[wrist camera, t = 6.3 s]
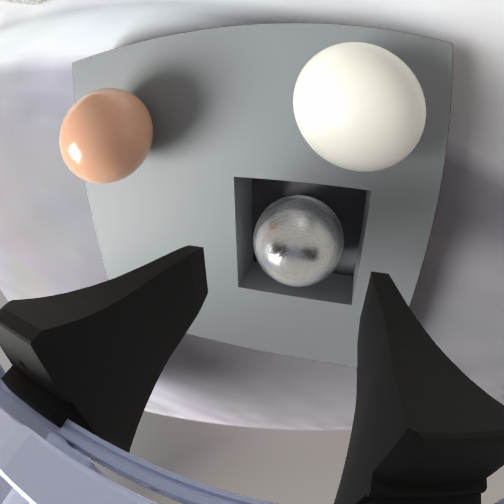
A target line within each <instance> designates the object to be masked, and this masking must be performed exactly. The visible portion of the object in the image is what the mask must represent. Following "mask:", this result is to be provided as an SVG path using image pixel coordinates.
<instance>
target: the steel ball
mask: <svg viewBox="0 0 504 504" xmlns="http://www.w3.org/2000/svg"><path fill="white" fill-rule="evenodd" d="M253 247H254V252H255V256H256V258H257V261H258V262H259V264H260V266H261V267H262V269H263V270H264V271H265V272H266V273H267V274H268V275H269V276H270V277H271V278H273V279H274V280H276V281H278V282H280V283H282V284H285V285H288V286H294V287H303V286H309V285H313V284H316V283H318V282H320V281H322V280H323V279H325V278H326V277H327V276H329V275H330V274H331V273H332V272H333V270H334V269H335V268H336V266H337V265H338V263H339V261H340V259H341V256H342V253H343V249H344V233H343V229H342V225H341V223H340V221H339V219H338V217H337V216H336V214H335V213H334V212H333V210H332V209H331V208H330V207H329V206H328V205H326V204H325V203H323V202H322V201H320V200H318V199H316V198H313V197H309V196H304V195H293V196H287V197H284V198H281V199H279V200H277V201H275V202H274V203H272V204H271V205H270V206H268V207H267V208H266V209H265V210H264V212H263V213H262V214H261V216H260V217H259V219H258V221H257V223H256V226H255V229H254V235H253Z"/></svg>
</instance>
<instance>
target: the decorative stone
mask: <svg viewBox="0 0 504 504" xmlns="http://www.w3.org/2000/svg"><path fill="white" fill-rule="evenodd" d="M0 1H5V2H12V3H19V4H34V5H38V4H40V3H42V2H44V1H45V0H0Z"/></svg>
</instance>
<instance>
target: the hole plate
mask: <svg viewBox="0 0 504 504" xmlns="http://www.w3.org/2000/svg"><path fill="white" fill-rule="evenodd" d="M345 42H363V43H369V44H373V45H376V46H379V47H381V48H384V49H386V50H388V51H390V52H391V53H393V54H394V55H396V56H397V57H398V58H400V59H401V60H402V61H403V62H404V63H405V64H406V65H407V66H408V67H409V68H410V69H411V71H412V72H413V73H414V75H415V76H416V78H417V80H418V82H419V83H420V86H421V88H422V91H423V94H424V98H425V104H426V120H425V126H424V130H423V133H422V135H421V138H420V140H419V142H418V143H417V145H416V146H415V148H414V149H413V150H412V151H411V153H410V154H409V155H408V156H406V157H405V158H404V159H403V160H401V161H400V162H398V163H397V164H395V165H393V166H391V167H389V168H385V169H382V170H378V171H371V172H359V171H352V170H347V169H344V168H341V167H338V166H336V165H334V164H332V163H330V162H329V161H327V160H325V159H324V158H322V157H321V156H320V155H319V154H317V153H316V152H315V151H314V150H313V149H312V148H311V147H310V145H309V144H308V143H307V142H306V140H305V139H304V137H303V135H302V134H301V132H300V130H299V127H298V125H297V122H296V119H295V115H294V110H293V94H294V88H295V84H296V81H297V79H298V76H299V74H300V72H301V71H302V69H303V68H304V66H305V65H306V64H307V62H308V61H309V60H310V59H311V58H312V57H313V56H315V55H316V54H317V53H319V52H320V51H322V50H324V49H326V48H328V47H330V46H333V45H336V44H340V43H345ZM72 68H73V87H74V101H75V103H76V102H77V101H78V100H79V99H80V98H82V97H83V96H85V95H86V94H88V93H90V92H92V91H95V90H99V89H104V88H117V89H122V90H125V91H128V92H130V93H132V94H134V95H135V96H136V97H138V98H139V99H140V100H141V101H142V102H143V103H144V104H145V106H146V107H147V109H148V111H149V113H150V116H151V118H152V122H153V141H152V145H151V148H150V151H149V153H148V155H147V157H146V159H145V160H144V162H143V163H142V164H141V166H140V167H139V168H138V169H137V170H136V171H135V172H133V173H132V174H131V175H129V176H128V177H126V178H124V179H122V180H120V181H117V182H113V183H109V184H96V183H91V182H88V181H85V183H86V188H87V194H88V199H89V204H90V208H91V213H92V218H93V222H94V226H95V231H96V235H97V239H98V243H99V247H100V251H101V254H102V258H103V262H104V265H105V269H106V273H107V276H108V279H109V280H111V279H113V278H116V277H118V276H121V275H123V274H125V273H128V272H130V271H132V270H134V269H137V268H139V267H141V266H143V265H146V264H148V263H150V262H152V261H154V260H156V259H158V258H160V257H162V256H164V255H167V254H169V253H171V252H173V251H175V250H177V249H180V248H182V247H185V246H188V245H191V246H198V247H203V248H204V258H205V267H206V276H207V285H208V294H207V297H206V299H205V301H204V303H203V305H202V307H201V309H200V311H199V314H198V315H197V317H196V318H195V320H194V321H193V323H192V324H191V326H190V327H189V329H188V331H187V332H186V333H187V334H191V335H194V336H198V337H202V338H206V339H210V340H215V341H219V342H223V343H227V344H232V345H236V346H241V347H245V348H250V349H255V350H259V351H264V352H269V353H274V354H279V355H285V356H290V357H296V358H301V359H307V360H313V361H319V362H325V363H332V364H338V365H345V366H352V367H357V342H358V333H359V323H360V316H361V312H362V309H363V305H364V300H365V296H366V292H367V288H368V283H369V279H370V274H371V271H372V272H379V273H387V274H389V275H390V277H391V278H392V280H393V282H394V283H395V285H396V287H397V288H398V290H399V292H400V293H401V295H402V297H403V298H404V300H405V302H406V303H407V305H408V306H409V305H410V302H411V299H412V296H413V293H414V290H415V287H416V284H417V280H418V277H419V274H420V270H421V267H422V263H423V260H424V256H425V253H426V249H427V245H428V241H429V237H430V233H431V229H432V225H433V220H434V216H435V211H436V206H437V202H438V196H439V191H440V186H441V180H442V174H443V168H444V161H445V154H446V147H447V139H448V130H449V120H450V108H451V92H452V43H449V42H445V41H441V40H437V39H433V38H429V37H424V36H419V35H414V34H409V33H404V32H398V31H392V30H385V29H378V28H370V27H361V26H351V25H338V24H320V23H270V24H251V25H239V26H228V27H219V28H211V29H204V30H197V31H191V32H185V33H179V34H174V35H169V36H164V37H159V38H154V39H150V40H146V41H142V42H138V43H134V44H130V45H126V46H122V47H119V48H115V49H112V50H109V51H105V52H102V53H99V54H96V55H93V56H90V57H87V58H84V59H81V60H79V61H76V62H73V63H72ZM252 178H259V179H271V180H283V181H293V182H303V183H313V184H322V185H331V186H339V187H347V188H355V189H362V190H366V198H365V206H364V213H363V220H362V227H361V234H360V240H359V246H358V252H357V258H356V264H355V269H354V275H353V276H351V275H344V274H337V273H331V274H330V275H329V276H327V277H326V278H325V279H323V280H322V281H320V282H318V283H316V284H313V285H309V286H303V287H294V286H288V285H285V284H282V283H280V282H278V281H276V280H274V279H273V278H271V277H270V276H269V275H268V274H267V273H266V272H265V271H264V270H263V269H262V267H261V266H260V264H259V262H255V261H253V212H252Z"/></svg>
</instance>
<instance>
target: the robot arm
mask: <svg viewBox="0 0 504 504" xmlns="http://www.w3.org/2000/svg"><path fill="white" fill-rule="evenodd" d="M207 294H208V285H207V276H206V267H205V258H204V248H203V247H198V246H191V245H188V246H185V247H182V248H180V249H177V250H175V251H173V252H171V253H169V254H167V255H164V256H162V257H160V258H158V259H156V260H154V261H152V262H150V263H148V264H146V265H143V266H141V267H139V268H137V269H134V270H132V271H130V272H128V273H125V274H123V275H121V276H118V277H116V278H113V279H111V280H108V281H105V282H102V283H100V284H97V285H94V286H91V287H87V288H83V289H79V290H76V291H72V292H68V293H64V294H59V295H54V296H48V297H42V298H34V299H23V300H12V301H10V302H8V303H7V304H6V305H4V306H3V307H2V308H1V309H0V346H1V348H2V350H3V351H4V353H5V354H6V356H7V357H8V359H9V360H10V362H11V363H12V365H13V366H12V367H11V368H10V369H9V370H8V371H7V372H6V373H5V371H4V369H3V368H2V366H1V365H0V504H157V503H156V502H153V501H151V500H149V499H147V498H145V497H142V496H141V495H139V494H137V493H135V492H133V491H131V490H129V489H127V488H125V487H123V486H121V485H119V484H117V483H116V482H114V481H112V480H110V479H109V478H107V477H106V476H105V475H104V474H103V473H102V472H101V471H99V470H98V469H97V468H96V467H95V466H94V465H93V463H92V462H91V459H92V460H94V461H95V462H97V463H99V464H100V465H102V466H104V467H106V468H107V469H109V470H111V471H113V472H115V473H117V474H118V475H120V476H122V477H124V478H126V479H128V480H130V481H132V482H134V483H136V484H138V485H140V486H143V487H145V488H147V489H149V490H151V491H153V492H155V493H158V494H160V495H162V496H165V497H167V498H169V499H172V500H174V501H177V502H179V503H182V504H277V503H272V502H268V501H263V500H259V499H255V498H251V497H247V496H243V495H240V494H236V493H232V492H229V491H225V490H222V489H219V488H216V487H213V486H209V485H206V484H203V483H200V482H198V481H195V480H191V479H189V478H186V477H184V476H181V475H178V474H176V473H173V472H171V471H168V470H166V469H163V468H161V467H159V466H156V465H154V464H152V463H150V462H147V461H145V460H143V459H141V458H139V457H136V456H134V455H132V454H130V453H129V451H130V447H131V444H132V441H133V438H134V435H135V432H136V429H137V426H138V424H139V421H140V419H141V416H142V414H143V411H144V409H145V406H146V404H147V402H148V399H149V397H150V395H151V393H152V391H153V388H154V386H155V384H156V382H157V380H158V378H159V376H160V374H161V372H162V370H163V368H164V366H165V364H166V363H167V361H168V359H169V358H170V356H171V354H172V353H173V351H174V350H175V348H176V347H177V345H178V344H179V342H180V341H181V339H182V338H183V336H184V335H185V333H186V332H187V331H188V329H189V327H190V326H191V324H192V323H193V321H194V320H195V318H196V317H197V315H198V314H199V311H200V309H201V307H202V305H203V303H204V301H205V299H206V297H207ZM503 465H504V405H502V404H501V403H499V402H498V401H497V400H495V399H494V398H492V397H491V396H490V395H488V394H487V393H486V392H485V391H483V390H482V389H481V388H480V387H479V386H477V385H476V384H475V383H474V382H473V381H471V380H470V379H469V378H468V377H467V376H466V375H465V374H464V373H463V372H462V371H461V370H460V369H459V368H458V367H457V366H456V365H455V364H454V363H453V362H452V361H451V360H450V359H449V358H448V357H447V356H446V355H445V354H444V353H443V352H442V350H441V349H440V348H439V347H438V346H437V345H436V343H435V342H434V341H433V340H432V339H431V337H430V336H429V335H428V334H427V332H426V331H425V330H424V328H423V327H422V325H421V324H420V323H419V321H418V320H417V319H416V317H415V316H414V314H413V313H412V311H411V309H410V308H409V306H408V305H407V303H406V302H405V300H404V298H403V297H402V295H401V293H400V292H399V290H398V288H397V287H396V285H395V283H394V282H393V280H392V278H391V277H390V275H389V274H387V273H379V272H372V271H371V274H370V279H369V283H368V288H367V292H366V296H365V300H364V305H363V309H362V312H361V316H360V323H359V333H358V342H357V398H356V409H355V415H354V421H353V427H352V433H351V438H350V443H349V448H348V452H347V457H346V461H345V466H344V469H343V474H342V478H341V482H340V485H339V489H338V492H337V495H336V499H335V502H334V504H481V493H483V492H484V491H486V488H487V479H486V478H487V477H488V476H490V475H491V474H493V473H494V472H495V471H497V470H498V469H499V468H500V467H502V466H503ZM495 504H504V498H503V499H501V500H499V501H498V502H496V503H495Z"/></svg>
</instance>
